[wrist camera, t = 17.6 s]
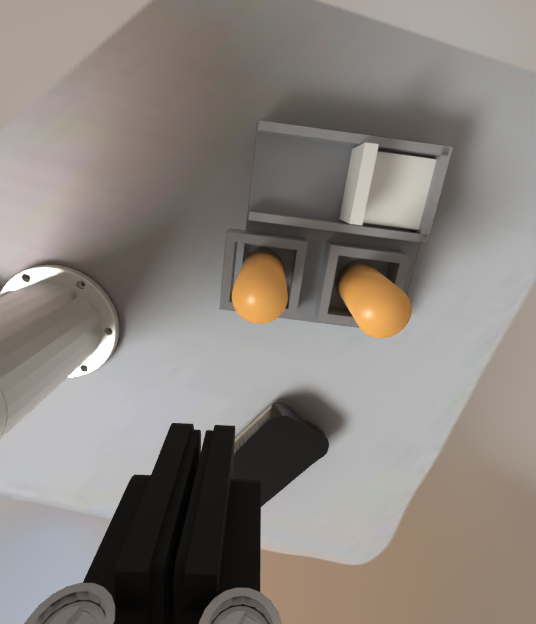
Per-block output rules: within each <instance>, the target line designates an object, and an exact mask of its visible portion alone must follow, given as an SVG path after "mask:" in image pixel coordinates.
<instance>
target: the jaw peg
mask: <svg viewBox="0 0 536 624" xmlns="http://www.w3.org/2000/svg"><path fill="white" fill-rule="evenodd" d="M336 288H337V291H338V293H339V294H340V296H341V298H342V299H343V301H344V303H345V304H346V306H347V308H348V309H349V311H350V313H351V314H352V316H353V317H354V319H355V321H356V322H357V324H358V326H359V327H360V329H361V330H362V331H363V332H364V333H366V334H367V335H369V336H372V337H375V338H387V337H391V336H393V335H395V334H397V333H399V332H400V331H401V330H402V329H403V328H404V327H405V326H406V325H407V323H408V321H409V319H410V317H411V311H412V308H411V302H410V300H409V298H408V296H407V295H406V294H405V293H404V292H403V291H402V290H401V289H400V288H398V287H397V286H396V285H395V284H393V283H392V282H391V281H390V280H389V279H387V278H386V277H385V276H384V275H382V274H381V273H380V272H379V271H377V270H376V269H375V268H374V267H372V266H371V265H370V264H368V263H366V262H363V261H354V262H351V263H348V264H347V265H345V266H344V267H343V268H342V269H341V270H340V271H339V273H338V275H337V278H336Z"/></svg>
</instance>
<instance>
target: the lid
mask: <svg viewBox="0 0 536 624" xmlns="http://www.w3.org/2000/svg"><path fill="white" fill-rule="evenodd" d="M378 146H379V144H374V143H366V142H365V143H363V144H361V145H359V146H357V147H355V148H353V149H352V152H351V157H350V163H349V168H348V174H347V179H346V185H345V190H344V195H343V201H342V206H341V212H340V217H339V219H340V220H343V221H345V222H347V223H349V224H355V225H362V224H363V223H370V224H378V225H386V226H393V227H401V228H408V229H416V230H419V227H420V223H421V219H422V215H423V211H424V207H425V203H426V199H427V195H428V191H429V187H430V183H431V179H432V175H433V172H434V168H435V164H436V160H437V159H430V158H422V157H415V156H408V155H400V154H393V153H386V152H378Z"/></svg>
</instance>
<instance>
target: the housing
mask: <svg viewBox="0 0 536 624" xmlns="http://www.w3.org/2000/svg"><path fill="white" fill-rule="evenodd" d="M365 142H366V143H374V144H379V146H378V152H386V153H393V154H400V155H408V156H415V157H422V158H430V159H437V160H436V164H435V168H434V172H433V175H432V179H431V183H430V187H429V191H428V195H427V199H426V203H425V207H424V211H423V215H422V219H421V223H420V227H419V230H416V229H408V228H401V227H393V226H386V225H378V224H370V223H363V224H362V225H355V224H349V223H347V222H345V221H343V220H340V219H339V217H340V212H341V206H342V201H343V195H344V190H345V185H346V179H347V174H348V168H349V163H350V157H351V152H352V149H353V148H355V147H357V146H359V145H361V144H363V143H365ZM452 149H453V147H450V146H443V145H436V144H429V143H421V142H414V141H407V140H399V139H392V138H385V137H378V136H370V135H363V134H356V133H349V132H341V131H334V130H327V129H320V128H312V127H305V126H298V125H291V124H283V123H276V122H269V121H261V120H259V122H257V131H256V140H255V150H254V159H253V169H252V179H251V188H250V198H249V207H248V217H247V226H246V231H245V230H238V229H229V230H228V231H226V242H225V254H224V265H223V277H222V288H221V299H220V309H223V310H231V311H237V313H238V314H239V315H240V316H241V317H242V318H244V319H245V320H247V321H249V322H252V323H257V324H263V323H268V322H271V321H273V320H275V319H277V318H285V319H294V320H302V321H310V322H318V323H326V324H334V325H342V326H350V327H359V326H358V324H357V322H356V321H355V319H354V317H353V316H352V314H351V313H350V311H349V309H348V308H347V306H346V304H345V303H344V301H343V299H342V298H341V296H340V294H339V293H338V291H337V288H336V278H337V275H338V273H339V271H340V270H341V269H342V268H343V267H344V266H345V265H347V264H348V263H351V262H354V261H363V262H366V263H368V264H370V265H371V266H372V267H374V268H375V269H376V270H377V271H379V272H380V273H381V274H382V275H384V276H385V277H386V278H387V279H389V280H390V281H391V282H392V283H393V284H395V285H396V286H397V287H398V288H400V289H401V290H402V291H403V292H404V293H405V294H406V295H407V291H408V288H409V284H410V280H411V276H412V272H413V268H414V264H415V260H416V257H417V253H418V249H419V245H420V242H421V243H428V240H429V236H430V232H431V228H432V225H433V221H434V217H435V213H436V209H437V206H438V202H439V198H440V194H441V191H442V187H443V183H444V179H445V175H446V172H447V168H448V164H449V160H450V157H451V153H452ZM237 242H238V243H245V246H244V255H243V265H242V267H241V270H240V272H239V275H238V277H237V280H236V282H235V285H234V287H233V280H234V270H235V260H236V250H237ZM359 328H360V327H359Z"/></svg>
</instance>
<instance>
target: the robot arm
mask: <svg viewBox="0 0 536 624" xmlns="http://www.w3.org/2000/svg"><path fill="white" fill-rule="evenodd" d="M83 282H84V283H85V285H84V284H83ZM110 328H111V329H112V330H111V329H110ZM118 338H119V321H118V316H117V313H116V310H115V307H114V305H113V303H112V302H111V300H110V298H109V296H108V295H107V294H106V293H105V291H104V290H103V289H102V288H101V287H100V286H99V285H98V284H97V283H96V282H95V281H93V280H92V279H91V278H89V277H88V276H86V275H85V274H83V273H81V272H79V271H77V270H74V269H72V268H69V267H65V266H60V265H40V266H35V267H32V268H29V269H25V270H23V271H21V272H19V273H18V274H16V275H14V276H13V277H12V278H11V279H10V280H9V281H7V283H6V284H5V286H4V287H3V289H2V290H1V293H0V439H1V438H2V437H3V436H4V435H5V434H6V433H7V432H8V431H10V430H11V429H12V428H13V427H14V426H15V425H16V424H17V423H18V422H19V421H20V420H22V419H23V418H24V417H25V416H26V415H27V414H28V413H29V412H30V411H31V410H32V409H34V408H35V407H36V406H37V405H38V404H39V403H40V402H41V401H42V400H43V399H44V398H46V397H47V396H48V395H49V394H50V393H51V392H52V391H53V390H54V389H55V388H56V387H58V386H59V385H60V384H61V383H62V382H63V381H64V380H65V379H66V378H67V377H78V376H83V375H86V374H89V373H91V372H93V371H95V370H96V369H98V368H99V367H101V366H102V365H103V364H104V363H105V362H106V361H107V360H108V358H109V357H110V356H111V355H112V353H113V352H114V350H115V348H116V346H117V342H118ZM234 443H235V426H225V425H215V426H214V431H211V430H207V431H206V433H205V438H204V442H203V446H202V450H201V431H200V430H194V426H193V424H182V423H172V424H171V426H170V429H169V431H168V434H167V436H166V439H165V441H164V444H163V446H162V449H161V452H160V454H159V457H158V459H157V462H156V464H155V467H154V469H153V472H152V474H151V475H134V476H133V477H132V478H131V480H130V481H129V483H128V486H127V488H126V490H125V492H124V494H123V496H122V499H121V501H120V503H119V505H118V507H117V509H116V512H115V514H114V516H113V518H112V520H111V523H110V525H109V527H108V529H107V531H106V533H105V536H104V538H103V540H102V542H101V544H100V547H99V549H98V551H97V553H96V555H95V557H94V560H93V562H92V564H91V566H90V568H89V570H88V573H87V575H86V577H85V579H84V582H83V583H79V584H74V585H71V586H67V587H65V588H63V589H61V590H59V591H58V592H56V593H54V594H52V595H51V596H50V597H49V598H47V599H46V600H45V601H44V602H42V603H41V604H40V605H39V606H38V607H37V608H36V610H35V611H34V612H33V613H32V614H31V616H30V617H29V618H28V619H27V621H26V622H25V623H24V624H282V622H281V619H280V616H279V613H278V611H277V609H276V608H275V606H274V605H273V603H272V602H271V600H269V599H268V598H267V597H266V596H264V595H263V594H262V593H261V592H260V522H261V480H250V479H233V465H234Z"/></svg>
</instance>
